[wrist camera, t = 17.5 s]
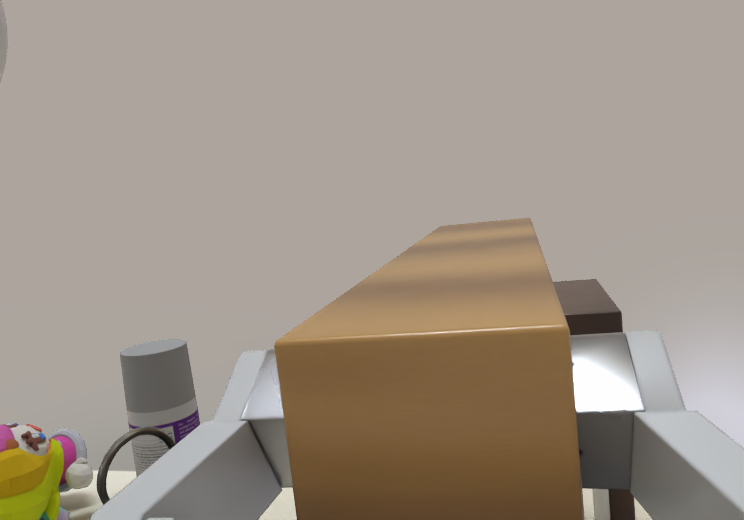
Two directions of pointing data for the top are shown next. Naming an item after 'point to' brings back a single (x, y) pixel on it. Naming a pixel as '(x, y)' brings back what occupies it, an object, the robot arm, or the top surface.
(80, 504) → the top surface
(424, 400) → the block
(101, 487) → the alarm clock
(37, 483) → the toy
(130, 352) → the container
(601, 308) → the shelf
